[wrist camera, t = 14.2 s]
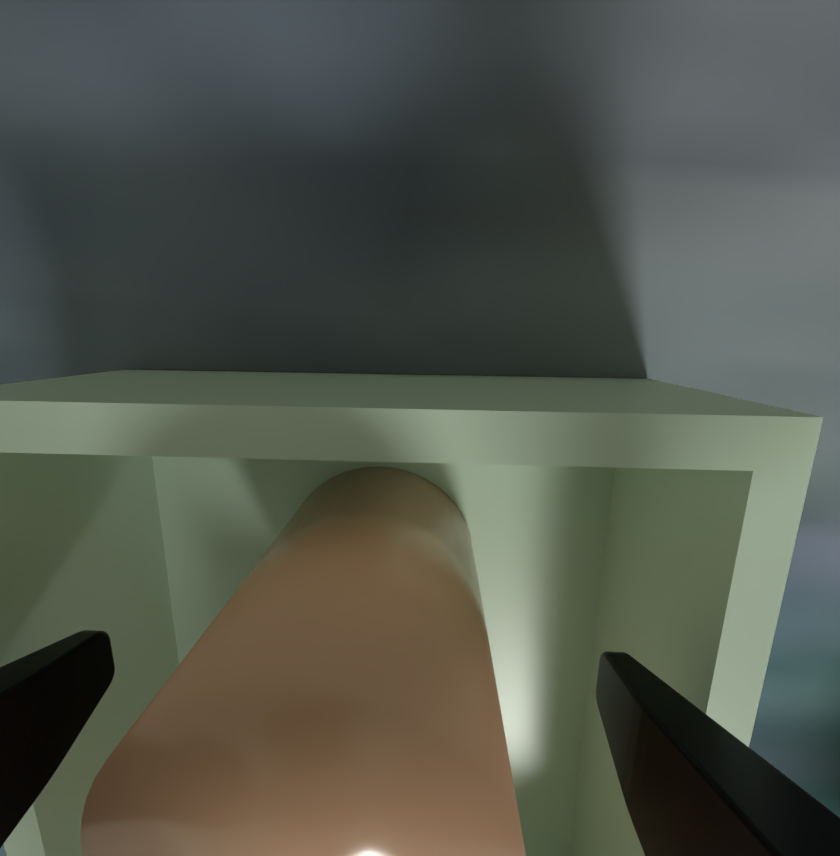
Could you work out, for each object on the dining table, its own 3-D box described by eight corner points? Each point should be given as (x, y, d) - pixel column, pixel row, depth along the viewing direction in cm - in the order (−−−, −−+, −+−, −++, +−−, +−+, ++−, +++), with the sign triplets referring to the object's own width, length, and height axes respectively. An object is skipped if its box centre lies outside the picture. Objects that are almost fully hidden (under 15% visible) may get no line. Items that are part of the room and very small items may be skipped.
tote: (581, 891, 15) (653, 1169, 10) (193, 867, 15) (78, 1121, 10) (648, 378, 11) (823, 417, 6) (124, 369, 11) (-115, 398, 6)
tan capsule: (476, 468, 11) (546, 698, 4) (469, 637, 12) (513, 1037, 5) (284, 464, 11) (43, 677, 4) (293, 630, 12) (115, 1010, 5)
